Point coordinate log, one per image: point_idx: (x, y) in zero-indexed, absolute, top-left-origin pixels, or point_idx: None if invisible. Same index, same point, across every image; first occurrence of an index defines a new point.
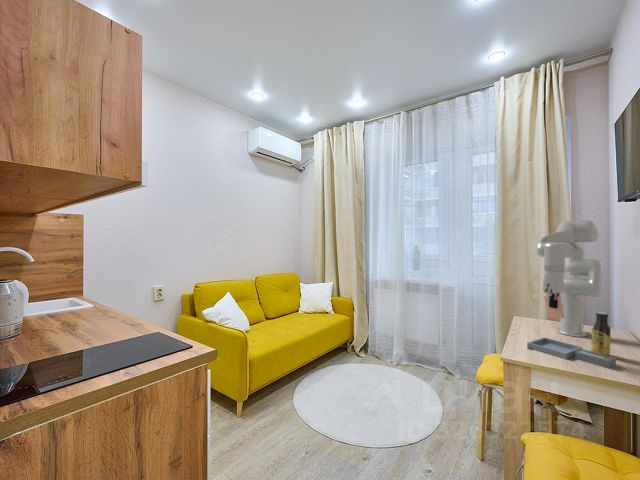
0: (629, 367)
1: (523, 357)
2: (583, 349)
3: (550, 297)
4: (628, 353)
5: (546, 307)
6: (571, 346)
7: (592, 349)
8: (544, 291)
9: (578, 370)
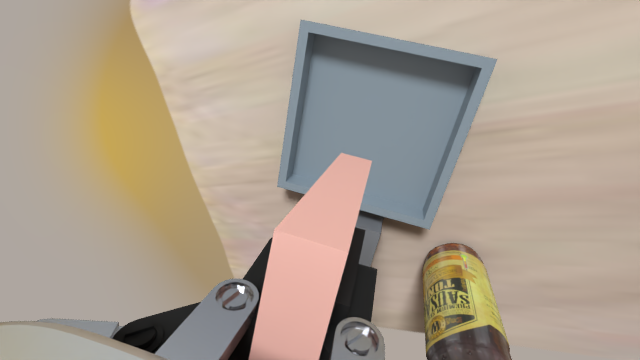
0: (378, 318)
1: (184, 49)
2: (377, 236)
3: (175, 322)
4: (568, 339)
5: (323, 174)
6: (434, 189)
7: (438, 257)
8: (43, 339)
9: (225, 211)
